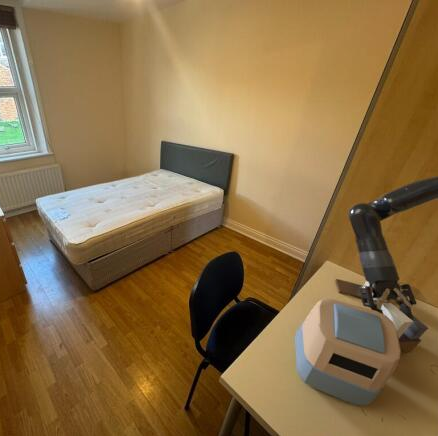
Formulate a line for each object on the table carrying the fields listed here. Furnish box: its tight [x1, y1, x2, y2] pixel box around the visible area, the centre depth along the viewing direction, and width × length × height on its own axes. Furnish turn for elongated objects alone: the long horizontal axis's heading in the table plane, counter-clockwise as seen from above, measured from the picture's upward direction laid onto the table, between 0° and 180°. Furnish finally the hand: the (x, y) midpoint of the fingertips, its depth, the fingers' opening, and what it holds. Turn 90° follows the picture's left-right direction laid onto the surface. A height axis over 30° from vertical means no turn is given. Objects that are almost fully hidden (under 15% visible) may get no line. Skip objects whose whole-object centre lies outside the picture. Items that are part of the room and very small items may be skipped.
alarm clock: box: [294, 297, 402, 406], centre depth 62 cm, size 17×17×23 cm
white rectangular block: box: [381, 302, 413, 339], centre depth 69 cm, size 3×6×9 cm, turn 4°
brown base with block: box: [334, 278, 389, 303], centre depth 90 cm, size 14×7×10 cm, turn 64°
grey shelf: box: [399, 314, 429, 354], centre depth 72 cm, size 18×7×12 cm, turn 94°
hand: (394, 321), depth 68 cm, fingers open, 8 cm apart
